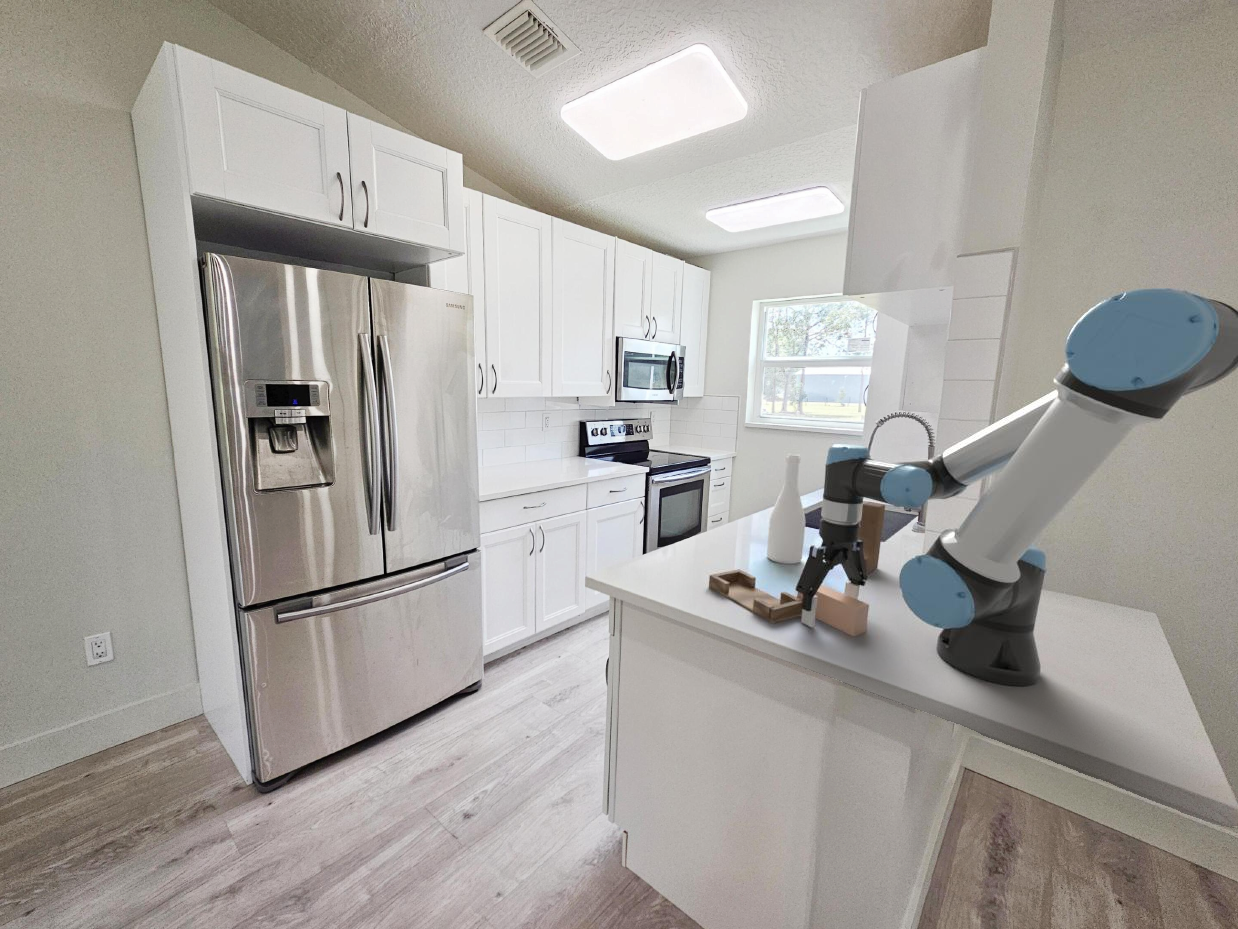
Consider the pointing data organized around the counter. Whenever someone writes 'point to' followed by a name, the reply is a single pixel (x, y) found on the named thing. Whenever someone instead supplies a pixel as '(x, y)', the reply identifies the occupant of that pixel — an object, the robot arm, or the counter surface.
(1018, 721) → the counter surface
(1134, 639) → the counter surface
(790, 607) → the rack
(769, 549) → the wine bottle
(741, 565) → the counter surface
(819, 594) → the peach rectangular block
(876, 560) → the wooden block
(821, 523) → the robot arm
